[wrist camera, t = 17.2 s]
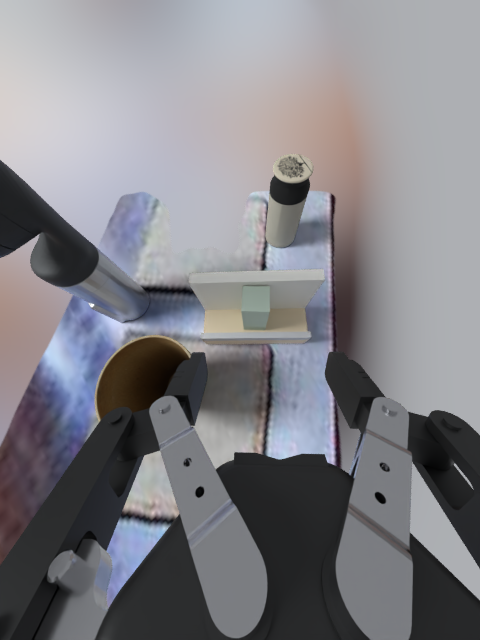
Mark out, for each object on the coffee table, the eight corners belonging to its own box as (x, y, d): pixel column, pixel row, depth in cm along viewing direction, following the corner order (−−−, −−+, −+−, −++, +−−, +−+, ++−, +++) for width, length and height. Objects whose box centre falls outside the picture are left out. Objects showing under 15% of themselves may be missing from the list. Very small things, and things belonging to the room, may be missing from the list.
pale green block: (265, 330, 41) (269, 311, 30) (243, 329, 41) (241, 311, 31) (265, 310, 42) (269, 286, 32) (244, 310, 42) (242, 285, 32)
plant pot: (198, 339, 45) (172, 317, 30) (229, 398, 41) (217, 407, 25) (140, 373, 43) (80, 367, 28) (166, 438, 39) (111, 473, 24)
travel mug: (269, 251, 52) (278, 185, 35) (262, 228, 54) (267, 157, 37) (298, 244, 52) (321, 176, 35) (289, 222, 54) (306, 149, 37)
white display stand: (303, 343, 43) (331, 321, 28) (207, 344, 45) (184, 323, 29) (299, 306, 46) (323, 268, 31) (209, 308, 47) (189, 272, 32)
